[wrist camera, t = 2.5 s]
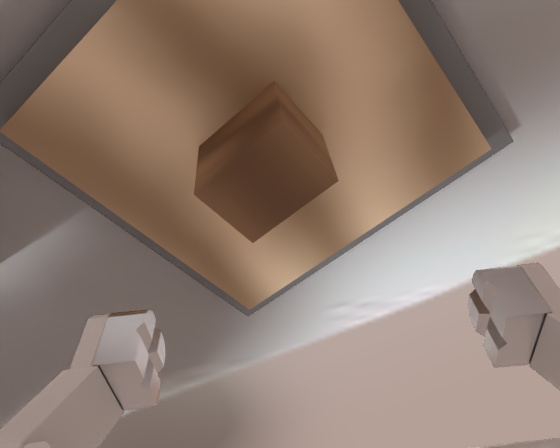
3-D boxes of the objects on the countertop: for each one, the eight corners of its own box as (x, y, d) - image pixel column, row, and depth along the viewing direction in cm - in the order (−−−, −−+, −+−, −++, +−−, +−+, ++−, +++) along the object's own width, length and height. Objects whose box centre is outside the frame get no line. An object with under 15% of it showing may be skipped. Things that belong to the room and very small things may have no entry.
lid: (249, 298, 25) (252, 365, 22) (6, 121, 18) (-44, 180, 15) (483, 140, 21) (533, 194, 17) (280, -181, 14) (297, -196, 10)
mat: (247, 308, 27) (248, 316, 26) (-26, 113, 19) (-32, 120, 18) (507, 135, 21) (513, 141, 21) (282, -245, 13) (284, -249, 13)
